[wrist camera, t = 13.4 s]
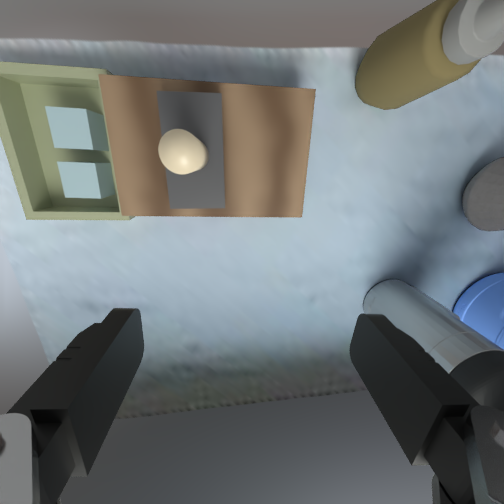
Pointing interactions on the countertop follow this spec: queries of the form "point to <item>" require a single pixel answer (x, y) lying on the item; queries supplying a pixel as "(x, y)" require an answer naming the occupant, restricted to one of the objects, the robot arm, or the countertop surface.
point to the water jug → (484, 308)
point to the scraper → (192, 148)
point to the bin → (50, 138)
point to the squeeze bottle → (429, 51)
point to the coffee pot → (486, 197)
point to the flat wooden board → (234, 146)
